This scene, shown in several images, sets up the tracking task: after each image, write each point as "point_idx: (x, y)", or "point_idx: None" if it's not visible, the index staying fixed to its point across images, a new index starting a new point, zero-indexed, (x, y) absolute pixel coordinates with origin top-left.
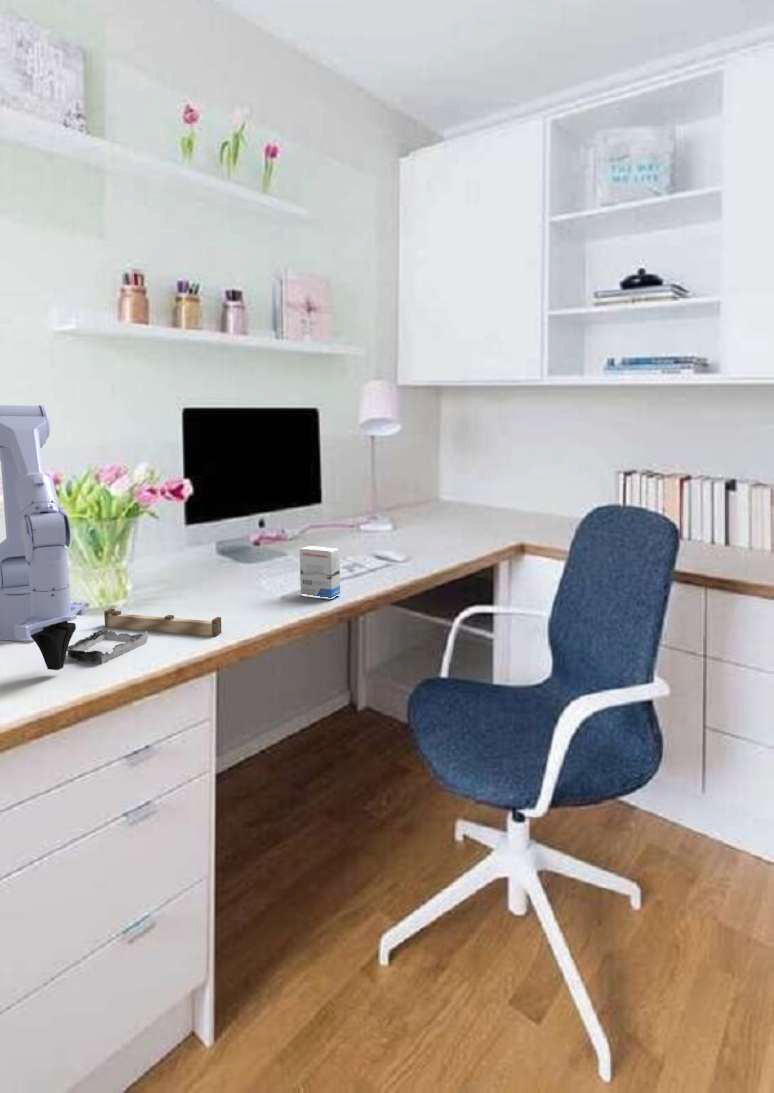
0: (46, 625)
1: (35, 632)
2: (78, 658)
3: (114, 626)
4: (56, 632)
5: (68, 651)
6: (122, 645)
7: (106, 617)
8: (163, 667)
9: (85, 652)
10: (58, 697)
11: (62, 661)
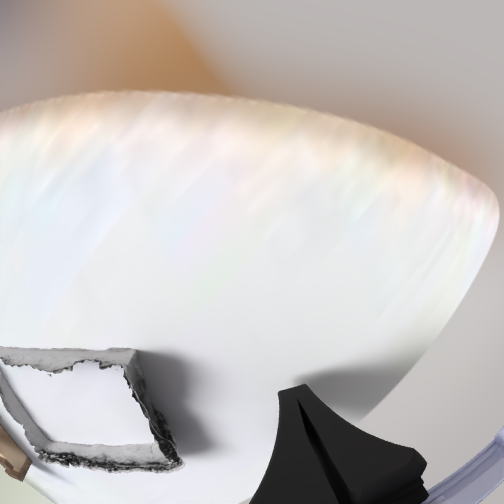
0: (481, 478)
1: (463, 469)
2: (163, 424)
3: (18, 449)
4: (409, 474)
5: (170, 459)
6: (36, 364)
7: (23, 471)
8: (54, 125)
9: (149, 423)
10: (420, 229)
11: (294, 401)
